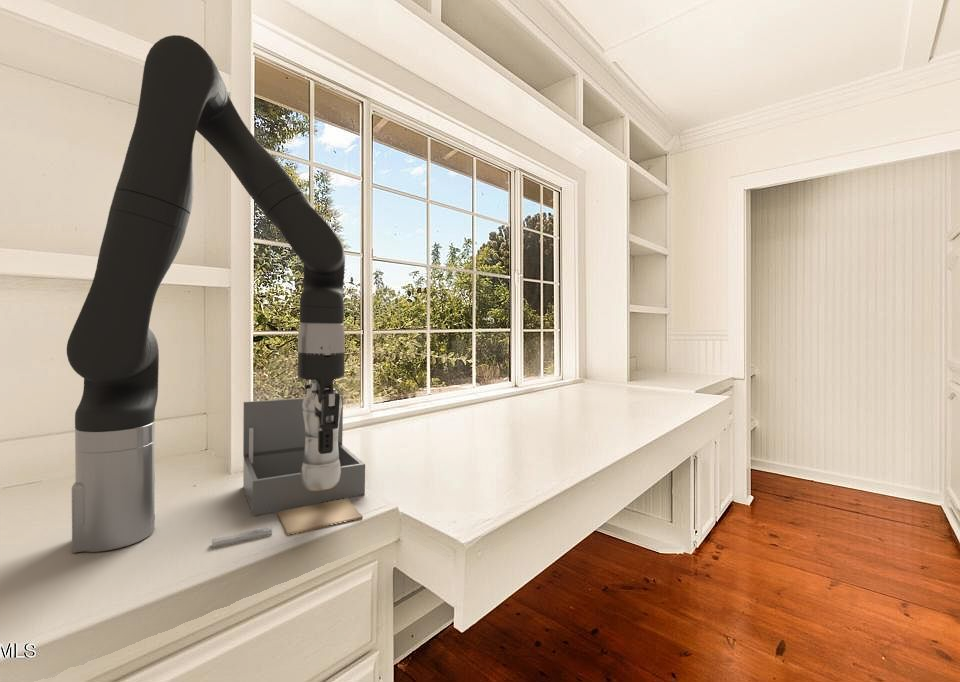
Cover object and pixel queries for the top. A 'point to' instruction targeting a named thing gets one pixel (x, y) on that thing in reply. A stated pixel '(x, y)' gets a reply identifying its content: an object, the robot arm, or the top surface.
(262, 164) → the robot arm
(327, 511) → the cork pad
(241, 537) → the rod
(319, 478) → the plastic bottle
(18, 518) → the top surface
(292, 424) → the case
